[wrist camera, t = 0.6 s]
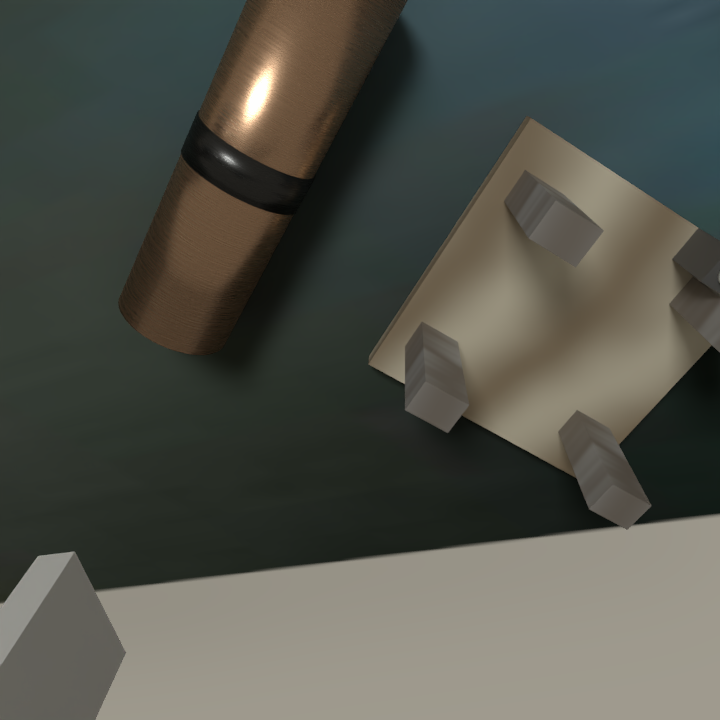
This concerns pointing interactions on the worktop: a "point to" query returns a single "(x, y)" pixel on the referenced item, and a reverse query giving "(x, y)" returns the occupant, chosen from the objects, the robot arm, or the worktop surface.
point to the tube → (250, 163)
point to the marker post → (701, 258)
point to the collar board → (554, 316)
